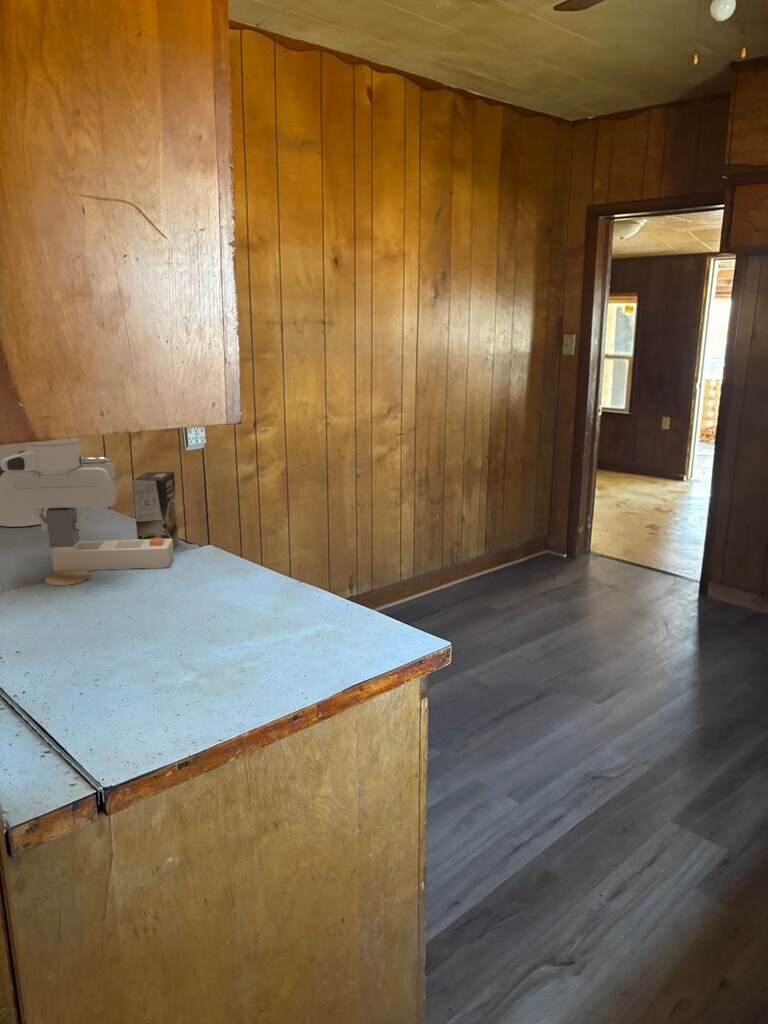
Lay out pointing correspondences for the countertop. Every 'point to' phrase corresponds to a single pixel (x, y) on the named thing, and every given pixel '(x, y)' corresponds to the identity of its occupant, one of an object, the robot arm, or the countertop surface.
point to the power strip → (114, 554)
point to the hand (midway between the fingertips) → (63, 530)
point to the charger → (62, 527)
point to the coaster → (67, 577)
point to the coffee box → (156, 506)
